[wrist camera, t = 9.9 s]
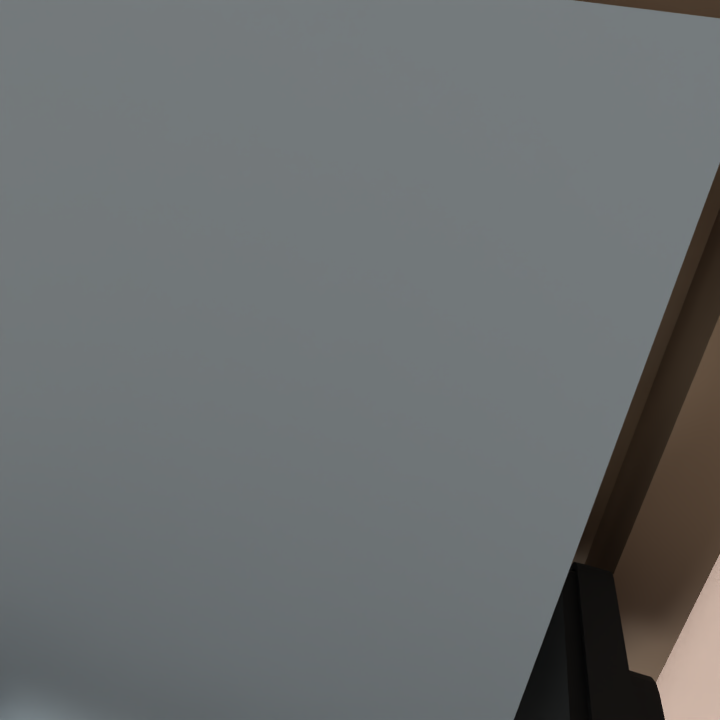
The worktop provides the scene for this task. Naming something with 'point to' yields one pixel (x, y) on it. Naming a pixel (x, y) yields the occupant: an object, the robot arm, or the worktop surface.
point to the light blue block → (322, 339)
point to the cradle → (667, 449)
